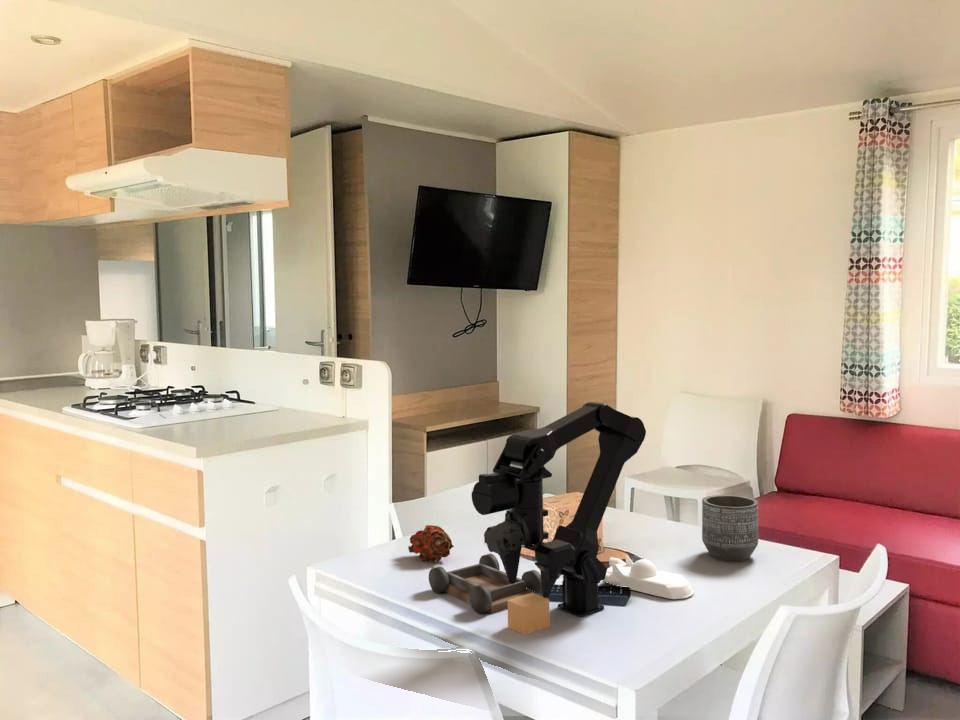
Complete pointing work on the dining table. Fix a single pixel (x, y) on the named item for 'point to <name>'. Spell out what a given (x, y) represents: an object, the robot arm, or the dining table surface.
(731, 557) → the planter
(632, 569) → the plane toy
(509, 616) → the light orange rectangular block
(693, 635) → the dining table surface
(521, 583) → the chassis
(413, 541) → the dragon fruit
